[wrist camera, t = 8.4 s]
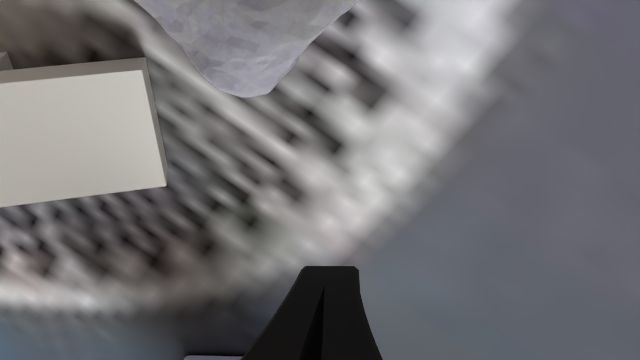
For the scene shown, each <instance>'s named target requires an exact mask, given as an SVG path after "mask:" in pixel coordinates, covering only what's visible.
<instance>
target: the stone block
mask: <svg viewBox="0 0 640 360" xmlns="http://www.w3.org/2000/svg"><path fill="white" fill-rule="evenodd" d="M135 1H136V2H137V3H138V4H139V5H140V6H142V7H143V8H144V9H145V10H146V11H147V12H148V13H149V14H151V15H152V16H153V17H154V18H155V19H156V20H157V22H158V23H159V24H160V25H161V26H162V28H163V29H164V30H165V31H166V32H167V33H168V34H169V35H170V36H171V37H172V38H173V39H174V40H176V41H177V42H178V43H179V44H180V45H181V47H182V48H183V50H184V51H185V53H186V54H187V55H188V57H189V58H190V60H191V61H192V63H193V64H194V66H195V67H196V69H197V70H198V72H199V73H200V74H201V75H202V76H203V77H204V78H205V79H206V80H208V81H209V82H210V83H211V84H212V85H213V86H215V87H216V88H217V89H218V90H219V91H222V92H226V93H229V94H232V95H235V96H239V97H242V98H244V97H255V96H260V95H265V94H267V93H269V92H270V91H271V90H272V89H273V88H274V87H275V85H276V84H277V83H278V82H279V81H280V80H281V79H282V78H283V77H284V76H285V75H286V74H287V73H288V72H289V71H290V70H291V69H292V68H293V66H294V65H295V64H296V63H297V60H298V58H299V56H300V54H301V53H302V52H304V51H305V49H306V47H307V46H308V45H309V44H310V43H311V42H312V41H313V40H314V39H315V38H316V37H317V36H319V35H320V34H321V33H322V32H323V31H324V30H325V29H326V28H327V27H329V26H330V25H331V24H332V23H333V22H334V21H335V20H336V19H337V18H338V17H339V16H340V15H342V14H344V13H345V12H347V11H348V10H349V9H350V8H351V7H352V6H353V5H354V4H355V3H356V2H357V1H358V0H135Z"/></svg>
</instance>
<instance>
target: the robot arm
mask: <svg viewBox="0 0 640 360" xmlns="http://www.w3.org/2000/svg"><path fill="white" fill-rule="evenodd" d="M184 360H383V359H382V357H381V355H380V352H379V350H378V347H377V345H376V343H375V340H374V337H373V335H372V332H371V329H370V326H369V323H368V320H367V317H366V314H365V311H364V307H363V303H362V299H361V294H360V282H359V270H358V269H357V268H356V267H354V266H305V267H304V268H303V269H302V270H301V272H300V273H299V275H298V277H297V279H296V281H295V283H294V284H293V286H292V288H291V290H290V291H289V293H288V295H287V296H286V298H285V299H284V301H283V303H282V304H281V306H280V307H279V309H278V310H277V311H276V313H275V314H274V316H273V317H272V319H271V320H270V322H269V323H268V325H267V326H266V327H265V329H264V330H263V331H262V333H261V334H260V335H259V337H258V338H257V339H256V340H255V342H254V343H253V344H252V346H251V347H250V348H249V350H248V351H247V352H246V353H245V354H244V356H243V357H238V356H194V355H191V356H186V357H185V358H184Z"/></svg>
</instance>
